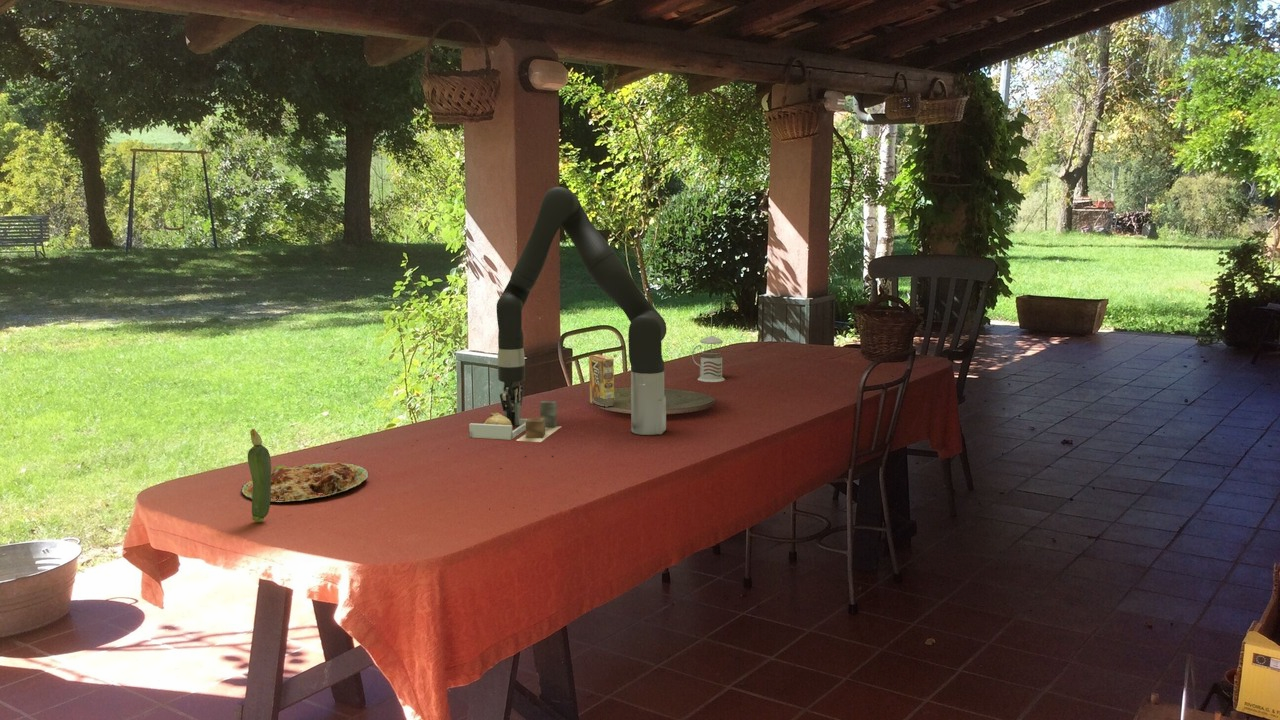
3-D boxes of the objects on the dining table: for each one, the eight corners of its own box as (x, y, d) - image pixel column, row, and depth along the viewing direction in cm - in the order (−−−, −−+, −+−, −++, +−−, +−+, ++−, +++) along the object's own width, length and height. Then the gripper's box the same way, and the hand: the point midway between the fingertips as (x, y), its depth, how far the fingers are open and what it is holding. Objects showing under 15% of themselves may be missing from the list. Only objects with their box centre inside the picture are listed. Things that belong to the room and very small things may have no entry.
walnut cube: (545, 434, 278) (544, 417, 277) (542, 438, 273) (542, 421, 272) (528, 433, 278) (528, 417, 277) (526, 437, 273) (525, 421, 273)
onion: (515, 434, 282) (515, 409, 281) (509, 441, 274) (508, 416, 273) (487, 434, 283) (486, 409, 282) (480, 441, 275) (479, 415, 274)
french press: (726, 381, 357) (726, 311, 353) (692, 382, 357) (693, 311, 353) (724, 376, 367) (724, 307, 362) (691, 376, 367) (692, 307, 363)
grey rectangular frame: (534, 426, 290) (533, 402, 289) (511, 442, 272) (510, 417, 271) (494, 424, 292) (494, 401, 291) (469, 440, 274) (469, 415, 273)
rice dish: (244, 517, 217) (242, 493, 215) (239, 478, 241) (237, 456, 240) (378, 500, 227) (377, 477, 226) (360, 465, 252) (359, 444, 251)
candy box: (615, 406, 318) (614, 357, 316) (603, 407, 316) (603, 359, 313) (600, 401, 325) (599, 354, 323) (588, 403, 323) (588, 355, 321)
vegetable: (266, 517, 212) (260, 423, 209) (279, 521, 210) (273, 426, 206) (247, 523, 208) (240, 427, 205) (260, 527, 206) (253, 430, 203)
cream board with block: (562, 430, 287) (561, 401, 286) (541, 446, 269) (540, 416, 268) (538, 428, 289) (537, 400, 287) (515, 445, 271) (515, 414, 269)
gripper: (515, 368, 279) (516, 430, 282) (532, 360, 293) (533, 419, 296) (489, 367, 281) (491, 428, 284) (507, 359, 294) (508, 417, 297)
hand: (512, 423), depth 290 cm, fingers closed on grey rectangular frame, 2 cm apart
